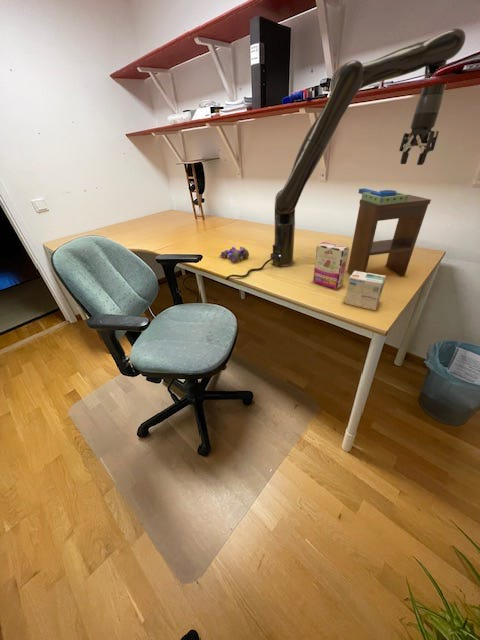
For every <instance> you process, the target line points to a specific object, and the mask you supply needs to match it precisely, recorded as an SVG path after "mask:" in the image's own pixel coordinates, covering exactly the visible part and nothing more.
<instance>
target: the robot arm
mask: <svg viewBox="0 0 480 640" xmlns="http://www.w3.org/2000/svg"><path fill="white" fill-rule="evenodd" d="M465 42H466V33H465V30H464V29H462V28H460V27H455V28H451V29H449V30H446V31H444V32H442V33H439V34H437V35H435V36H433V37H431V38H428V39H426V40H422V41H419V42H416V43H413V44H410V45H407V46H404V47H402V48H399V49H396V50H394V51H392V52H389V53H387V54H385V55H383V56H381V57H378V58H376V59H373V60H370V61H366V62H363V63H362V62H361V61H359V60H353V59H352V60H349V61H347V62H345V63H344V64H342V65H340V66H339V67H338V68H337V69H336V70H335V71H334V73H333V75H332V76H331V78H330V82H329V83H330V84H329V91H330V94H329V96H328V99H327V101H326V103H325V105H324V107H323V108H322V110H321V112H320V114H318V116H317V118H316V119H315V120H314V122H313V124H312V125H311V127H310V128H309V130H308V132H306V135H305V137H304V139H303V140H302V142H301V145H300V147H299V149H298V152H297V154H296V157H295V159H294V163H293V166H292V169H291V171H290V175H289V177H288V179H287V181H286V182H285V184H284V186H283V188H282V189H280V190H279V191H278V192H277V193H276V194H275V197H274V244H272V252H271V253H270V258H269V259H268V260H266V261H265V262H264V263H263V264H262V265H261V266H260V267H259V268H257V267H256V268H250V269H249V270H248V271H247V273H246V274H229V275H228V276H226V277H225V280H226V281H227V280H228V279H230V278H232V277H236V278H246V277H247V276H249V275H250V273H251V272H252V271H261V270H263V269H264V268H265V266H266V265H267V264H268V263H270V262H271V261H272V264H273V265H275V266H277V267H278V268H282V267H289V266H292V265H293V264H294V248H295V234H296V233H295V232H296V231H295V229H296V208H297V205H298V203H299V200H300V197H301V196H302V193H303V191H304V189H305V186H306V185H307V183H308V181H309V180H310V178H311V177H312V174H314V171H315V170H316V168H317V166H318V165H319V163H320V161H321V160H322V157H323V156H324V154H325V152H326V150H327V148H328V147H329V144H330V142H331V140H332V138H333V136H334V134H335V132H336V130H337V128H338V125H339V124H340V121H341V120H342V118H343V116H344V115H345V113H346V111H347V109H348V108H349V106H350V105H351V104H352V101H353V100H354V98H355V97H356V95H357V94H358V93H359V91H360V90H361V89H363V88H365V87H366V88H367V87H368V86H371V85H373V84H378V83H380V82H384V81H388V80H392V79H395V78H399V77H402V76H406V75H409V74H412V73H414V72H418V71H419V70H421V69H424V79H425V78H430V77H431V76H432V75H433V73H434V72H435V71H436V69H438V68H439V67H442V66H444V65H446V66H447V62H448V60H451V59H453V58H454V57H455V56H457V55H458V54H459V53H460V51H462V49H463V47H464V45H465ZM446 87H447V85H446V84H439V85H432V86H428V87H425V88H422V87H421V91H420V94H419V98H418V101H417V104H416V106H415V110H414V114H413V117H412V120H411V125H410V129H411V131H410V132H404V133H403V136H402V140H401V143H400V146H399V152H401V153H402V154H401V158H400V165H406V164H407V162H408V158H409V156H410V152H411V150H412V149H414V148H415V147H418V148H419V149H420V153H419V156H418V159H417V163H416V166H423V165H424V163H425V161H426V159H427V155H428V153H430V152H433V151H434V150H435V147H436V143H437V140H438V136H439V132H440V131H439V130H432V129H433V128H434V127H435V125H436V122H437V119H438V116H439V113H440V109H441V106H442V103H443V97H444V93H445V90H446V89H447V88H446Z"/></svg>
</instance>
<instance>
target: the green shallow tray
mask: <svg viewBox="0 0 480 640" xmlns="http://www.w3.org/2000/svg"><path fill="white" fill-rule="evenodd" d="M384 190H385V189H384ZM384 190H382V189H381V190H379V192H381V191H384ZM408 195H409V194H408ZM408 195H407V194H406V193H403V192H398V191H397V192H396V196H389V197H380V196H376V195H372V194H371V192H363V193H362V194H361V199H362V200H365V201H368V202H371V203H375V204H378V205H386V204H395V203H404V202H407V198H408Z"/></svg>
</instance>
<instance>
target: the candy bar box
mask: <svg viewBox="0 0 480 640" xmlns="http://www.w3.org/2000/svg"><path fill="white" fill-rule="evenodd" d="M349 251H350V247H349V246H346V245H341V244H335V243H331V242H326V241H323V242H321V243H319V244H317V245H316V252H315V261H314V273H313V282H312V283H315V284H317V285H321V286H323V287H327V288H330V289H334V290H339V288H341V287H342V286H343V285H344V280H345V279H344V278H345V272H346V267H347V261H348V256H349Z"/></svg>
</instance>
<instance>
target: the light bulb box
mask: <svg viewBox="0 0 480 640" xmlns="http://www.w3.org/2000/svg"><path fill="white" fill-rule="evenodd" d="M386 277H387V276H386V275H383V274H377V273H371V272H366V273H365V272H359V271H354V272H353V273H352V275H351V274H350V276H349V278H348V283H347V289H346V293H345V299H344V304H346V305H351V306H356V307H359V308H363V309H368V310H371V311H376V309H377V307H378V305H379V304H380V300H381V297H382V293H383V289H384V286H385V281H386Z"/></svg>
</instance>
